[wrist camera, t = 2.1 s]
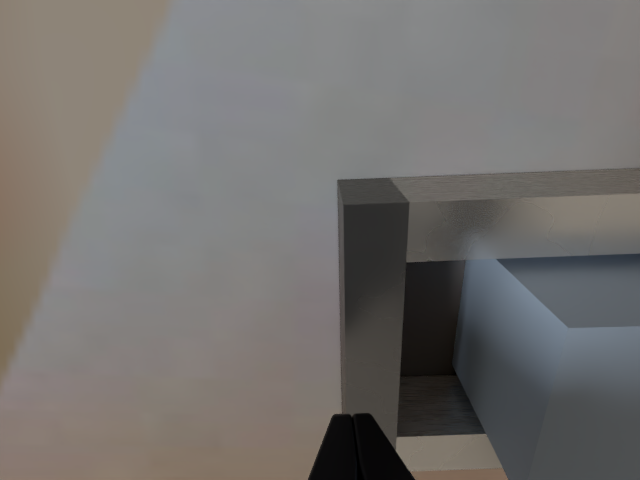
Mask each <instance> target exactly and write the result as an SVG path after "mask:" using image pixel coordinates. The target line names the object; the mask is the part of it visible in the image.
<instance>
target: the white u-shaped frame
mask: <svg viewBox="0 0 640 480" xmlns="http://www.w3.org/2000/svg"><path fill="white" fill-rule="evenodd" d="M337 185H338V237H339V289H340V340H341V392H342V414H350V415H351V416H352V415H353V414H355V413H370V414H371V415H372V416H373V417H374V419H375V420H376V422H377V423H378V425H379V426H380V428H381V429H382V431H383V432H384V434H385V435H386V437H387V438H388V440H389V441H390V443H391V444H392V446H393V447H394V449H395V450H396V452H397V453H398V455H399V456H400V458H401V459H402V461H403V462H404V464H405V465H406V467H407V468H408V470H409V471H434V470H463V469H491V468H503V467H502V465H501V463H500V461H499V459H498V457H497V455H496V453H495V451H494V449H493V447H492V445H491V443H490V441H489V439H488V437H487V435H486V433H485V431H484V429H483V427H482V424H481V422H480V420H479V418H478V416H477V414H476V412H475V410H474V408H473V406H472V404H471V402H470V400H469V398H468V396H467V394H466V392H465V390H464V388H463V386H462V384H461V382H460V380H459V378H458V376H457V375H436V376H409V377H400V366H401V348H402V330H403V312H404V294H405V276H406V262H427V261H453V260H480V259H506V258H533V257H559V256H586V255H613V254H639V253H640V168H636V169H610V170H584V171H558V172H532V173H506V174H480V175H454V176H428V177H402V178H376V179H350V180H337Z"/></svg>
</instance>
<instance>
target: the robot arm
mask: <svg viewBox="0 0 640 480" xmlns="http://www.w3.org/2000/svg"><path fill="white" fill-rule="evenodd" d="M308 480H415V479H414V477H413V476H412V474H411V473H410V471H409V470H408V468H407V467H406V465H405V464H404V462H403V461H402V459H401V458H400V456H399V455H398V453H397V452H396V450H395V449H394V447H393V446H392V444H391V443H390V441H389V440H388V438H387V437H386V435H385V434H384V432H383V431H382V429H381V428H380V426H379V425H378V423H377V422H376V420H375V419H374V417H373V416H372V415H371V414H370V413H355V414H353V415H352V416H351V415H350V414H334V415H333V416H332V418H331V420H330V423H329V426H328V428H327V431H326V434H325V436H324V439H323V441H322V444H321V447H320V449H319V452H318V454H317V457H316V460H315V462H314V465H313V468H312V470H311V473H310V475H309V478H308Z"/></svg>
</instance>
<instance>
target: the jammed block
mask: <svg viewBox="0 0 640 480" xmlns="http://www.w3.org/2000/svg"><path fill="white" fill-rule="evenodd" d="M452 366H453V368H454V370H455V372H456V374H457V376H458V378H459V380H460V382H461V384H462V386H463V388H464V390H465V392H466V394H467V396H468V398H469V400H470V402H471V404H472V406H473V408H474V410H475V412H476V414H477V416H478V418H479V420H480V422H481V424H482V427H483V429H484V431H485V433H486V435H487V437H488V439H489V441H490V443H491V445H492V447H493V449H494V451H495V453H496V455H497V457H498V459H499V461H500V463H501V465H502V467H503V469H504V471H505V473H506V475H507V477H508V479H509V480H640V253H639V254H613V255H586V256H559V257H533V258H506V259H480V260H466V262H465V270H464V277H463V285H462V292H461V299H460V307H459V314H458V322H457V329H456V337H455V344H454V351H453V359H452Z"/></svg>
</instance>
